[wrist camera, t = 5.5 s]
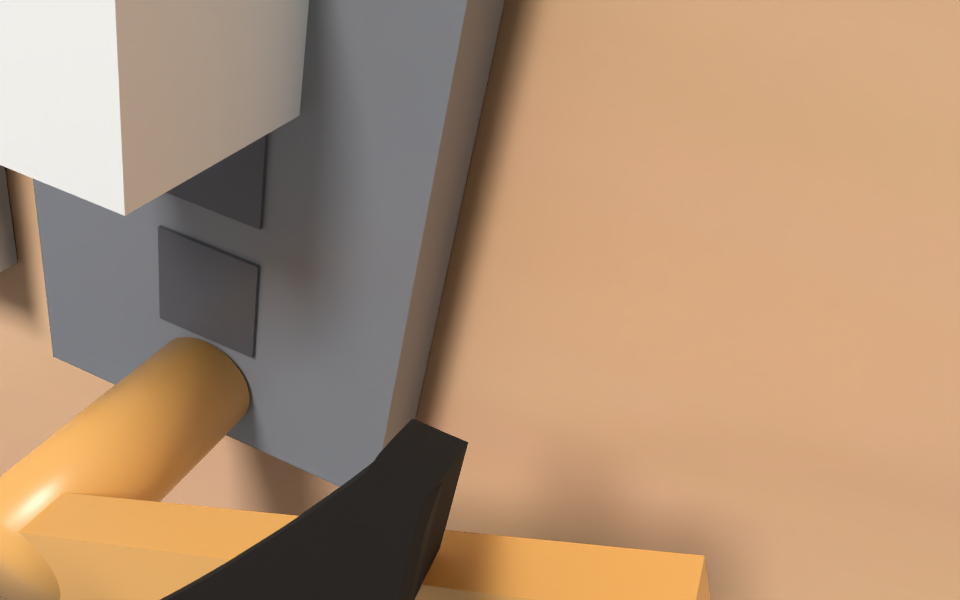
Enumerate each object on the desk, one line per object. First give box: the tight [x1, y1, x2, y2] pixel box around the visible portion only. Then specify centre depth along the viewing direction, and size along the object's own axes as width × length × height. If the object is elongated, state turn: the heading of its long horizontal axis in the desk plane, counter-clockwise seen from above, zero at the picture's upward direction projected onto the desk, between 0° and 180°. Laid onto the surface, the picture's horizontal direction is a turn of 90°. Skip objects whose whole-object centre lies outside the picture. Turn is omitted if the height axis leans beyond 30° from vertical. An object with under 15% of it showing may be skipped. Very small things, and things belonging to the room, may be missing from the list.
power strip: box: [33, 0, 505, 487], centre depth 17 cm, size 14×9×2 cm, turn 167°
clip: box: [0, 337, 711, 600], centre depth 15 cm, size 13×2×6 cm, turn 103°
